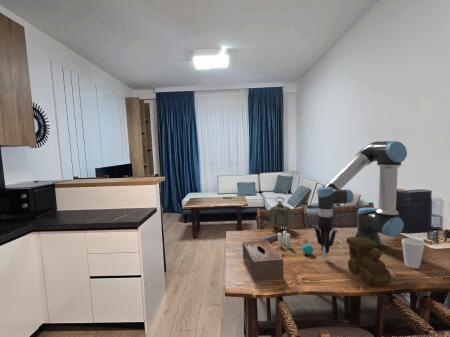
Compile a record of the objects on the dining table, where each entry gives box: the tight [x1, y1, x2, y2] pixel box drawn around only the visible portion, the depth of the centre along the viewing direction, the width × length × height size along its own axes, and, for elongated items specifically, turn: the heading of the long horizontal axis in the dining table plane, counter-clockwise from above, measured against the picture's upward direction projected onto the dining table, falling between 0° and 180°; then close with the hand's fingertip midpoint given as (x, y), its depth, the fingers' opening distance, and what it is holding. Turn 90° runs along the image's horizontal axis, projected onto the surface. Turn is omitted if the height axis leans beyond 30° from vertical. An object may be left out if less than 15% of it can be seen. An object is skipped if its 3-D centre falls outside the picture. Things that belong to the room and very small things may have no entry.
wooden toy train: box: [346, 236, 392, 286], centre depth 123 cm, size 20×11×17 cm, turn 6°
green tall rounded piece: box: [268, 196, 292, 231], centre depth 196 cm, size 14×9×25 cm, turn 58°
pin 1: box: [277, 232, 283, 248], centre depth 164 cm, size 2×2×8 cm
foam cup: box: [401, 237, 425, 269], centre depth 134 cm, size 10×9×13 cm
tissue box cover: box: [242, 240, 284, 282], centre depth 136 cm, size 26×14×10 cm, turn 8°
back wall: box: [257, 232, 279, 243], centre depth 174 cm, size 2×20×3 cm, turn 129°
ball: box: [301, 243, 314, 256], centre depth 151 cm, size 6×6×6 cm
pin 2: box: [282, 230, 288, 246], centre depth 167 cm, size 2×2×8 cm
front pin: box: [285, 233, 291, 249], centre depth 162 cm, size 2×2×8 cm
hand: (325, 257), depth 143 cm, fingers closed
